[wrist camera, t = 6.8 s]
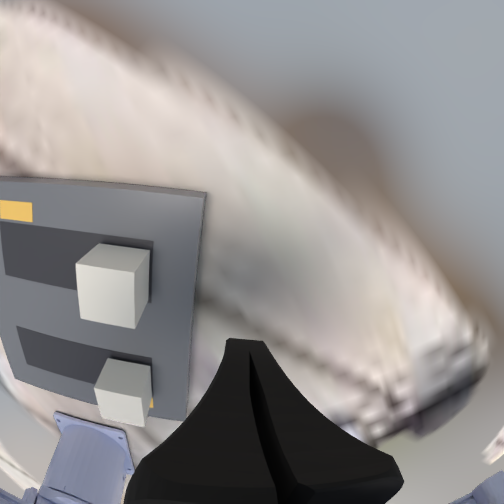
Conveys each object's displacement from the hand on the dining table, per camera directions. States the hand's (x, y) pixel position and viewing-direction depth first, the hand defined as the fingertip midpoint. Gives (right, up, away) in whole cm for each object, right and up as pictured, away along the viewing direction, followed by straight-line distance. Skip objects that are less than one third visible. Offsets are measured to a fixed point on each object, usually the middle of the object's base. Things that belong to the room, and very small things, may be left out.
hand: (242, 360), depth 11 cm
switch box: (-11, 0, +8) cm, 14 cm away
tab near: (-7, +3, +5) cm, 9 cm away
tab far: (-8, -5, +7) cm, 12 cm away
